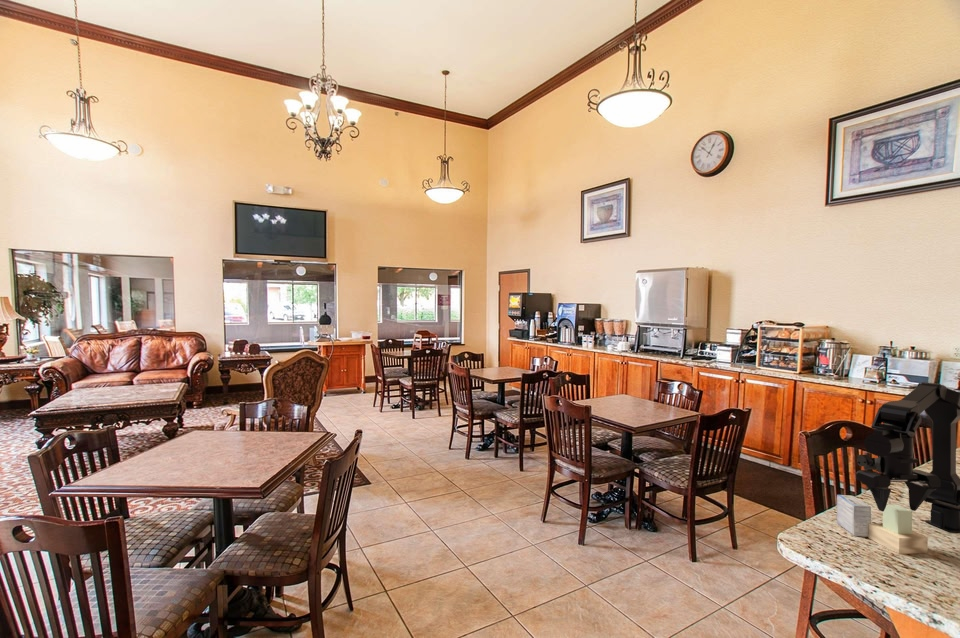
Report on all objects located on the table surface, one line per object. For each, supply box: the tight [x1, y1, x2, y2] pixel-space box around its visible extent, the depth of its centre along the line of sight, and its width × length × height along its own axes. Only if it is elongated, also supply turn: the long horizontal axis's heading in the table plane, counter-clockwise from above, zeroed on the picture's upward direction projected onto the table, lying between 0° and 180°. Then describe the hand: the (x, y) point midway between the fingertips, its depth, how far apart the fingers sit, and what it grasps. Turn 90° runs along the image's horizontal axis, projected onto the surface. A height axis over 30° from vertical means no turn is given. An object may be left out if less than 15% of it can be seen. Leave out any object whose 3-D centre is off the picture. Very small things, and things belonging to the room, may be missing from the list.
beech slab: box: [868, 522, 929, 555], centre depth 116 cm, size 8×8×4 cm
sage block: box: [882, 504, 913, 534], centre depth 116 cm, size 4×4×6 cm
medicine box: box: [836, 494, 872, 538], centre depth 124 cm, size 8×4×9 cm, turn 168°
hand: (897, 510), depth 115 cm, fingers open, 9 cm apart
